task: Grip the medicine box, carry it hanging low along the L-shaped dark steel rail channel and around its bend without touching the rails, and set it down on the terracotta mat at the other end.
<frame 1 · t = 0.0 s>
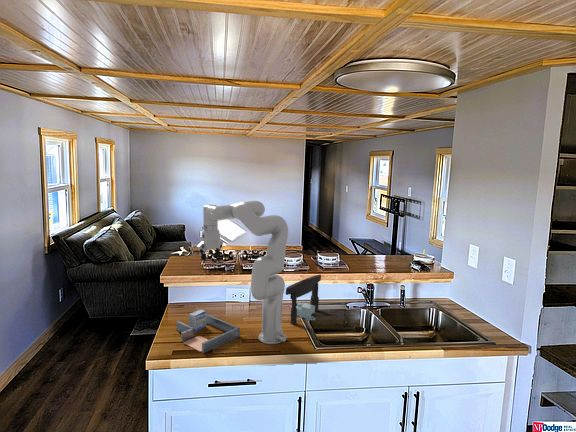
hand: (210, 258, 218), 31 cm above the worktop, tool pointing down, fingers open, 9 cm apart
stool: (303, 316, 223), on the worktop
medicine box: (197, 328, 204), on the worktop
bent rail channel: (215, 336, 195), on the worktop
terracotta mat: (200, 343, 188), on the worktop
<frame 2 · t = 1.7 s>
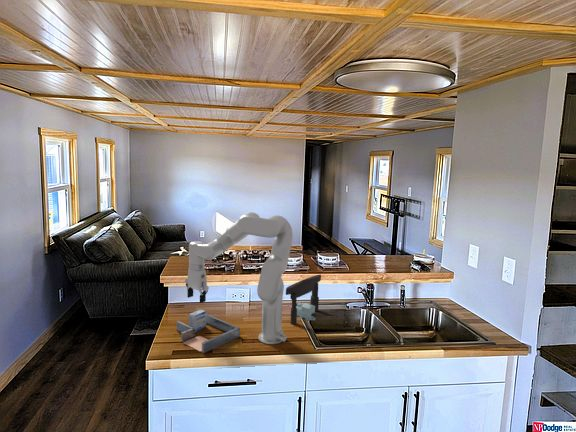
hand: (196, 299, 202), 15 cm above the worktop, tool pointing down, fingers open, 9 cm apart
nothing on the worktop moved.
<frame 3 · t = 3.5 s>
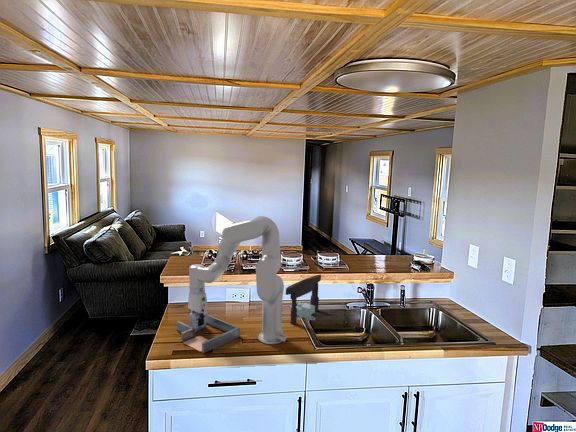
hand: (197, 323, 203), 3 cm above the worktop, tool pointing down, fingers closed on medicine box, 4 cm apart
medicine box: (197, 328, 204), on the worktop, touching gripper
everything else where it was.
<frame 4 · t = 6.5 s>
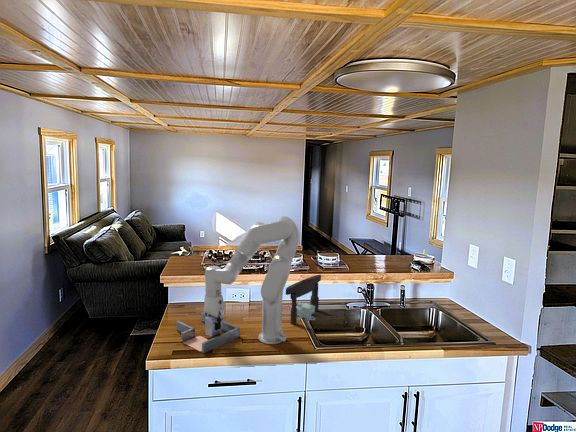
hand: (213, 327, 196), 4 cm above the worktop, tool pointing down, fingers closed on medicine box, 4 cm apart
medicine box: (214, 333, 196), point 1 cm above the worktop, touching gripper
everything else where it was.
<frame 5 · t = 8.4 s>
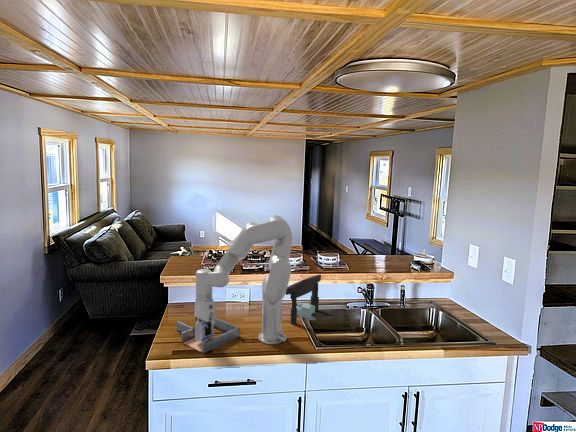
hand: (204, 332, 189), 5 cm above the worktop, tool pointing down, fingers closed on medicine box, 4 cm apart
medicine box: (204, 338, 190), point 2 cm above the worktop, touching gripper
everything else where it was.
when the fingers open (3 cm above the worktop, at t = 9.7 s): medicine box stays where it is, resting on terracotta mat.
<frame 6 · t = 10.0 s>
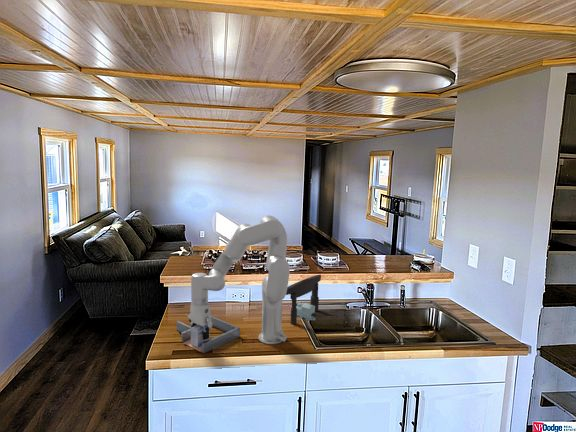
hand: (200, 335, 187), 4 cm above the worktop, tool pointing down, fingers open, 8 cm apart
medicine box: (200, 343, 188), resting on terracotta mat
everything else where it was.
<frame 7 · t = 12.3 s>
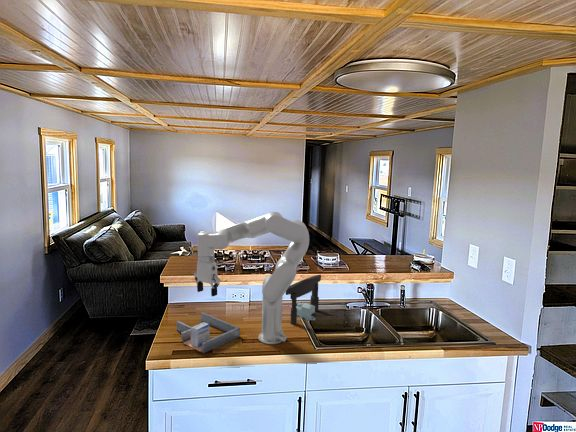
hand: (207, 293, 191), 22 cm above the worktop, tool pointing down, fingers open, 9 cm apart
nothing on the worktop moved.
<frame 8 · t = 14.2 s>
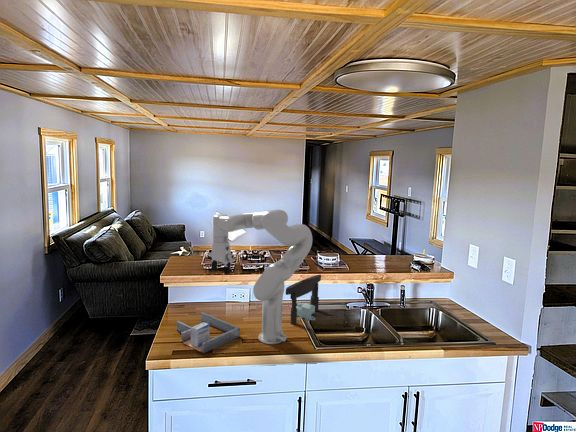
hand: (220, 271, 205), 28 cm above the worktop, tool pointing down, fingers open, 9 cm apart
nothing on the worktop moved.
at the end: medicine box inside the target area (0.1 cm from its centre), resting on terracotta mat; medicine box touching terracotta mat; medicine box tilted 0° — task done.
